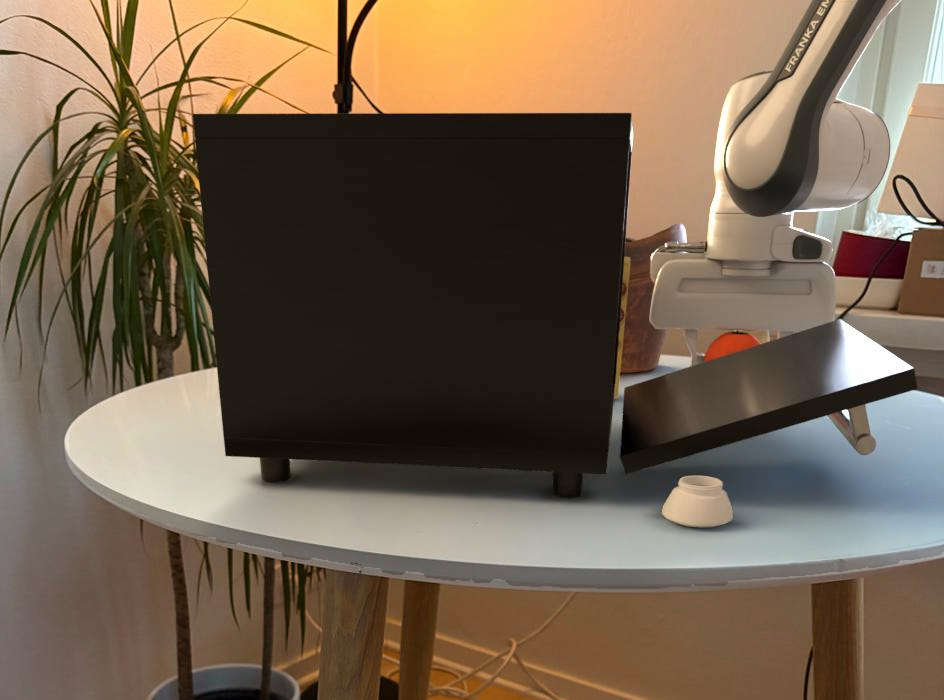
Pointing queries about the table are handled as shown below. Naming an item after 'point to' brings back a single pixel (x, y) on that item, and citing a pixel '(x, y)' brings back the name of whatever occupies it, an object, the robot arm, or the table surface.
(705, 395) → the oven door
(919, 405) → the table surface
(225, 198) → the oven
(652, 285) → the terracotta flower pot
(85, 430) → the table surface
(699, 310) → the robot arm
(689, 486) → the white jar
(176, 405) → the table surface
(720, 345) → the clementine
